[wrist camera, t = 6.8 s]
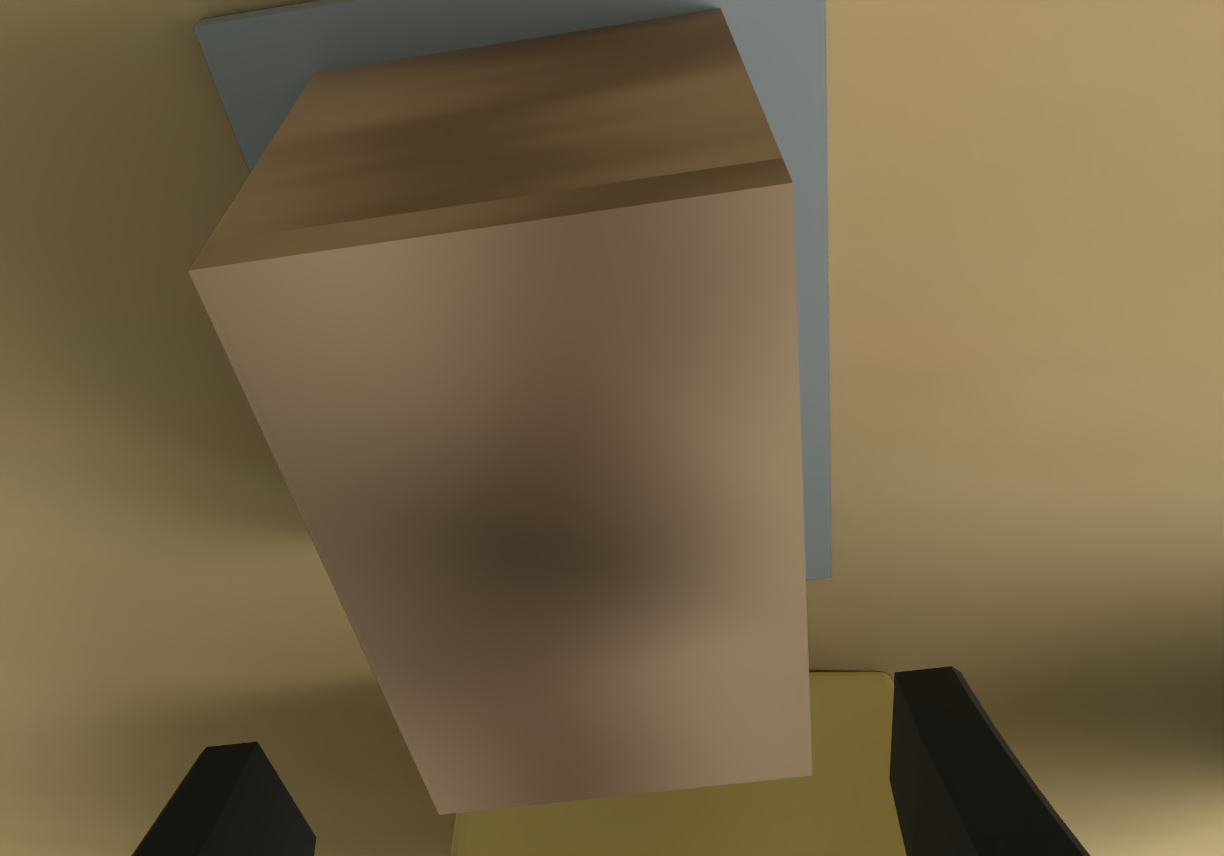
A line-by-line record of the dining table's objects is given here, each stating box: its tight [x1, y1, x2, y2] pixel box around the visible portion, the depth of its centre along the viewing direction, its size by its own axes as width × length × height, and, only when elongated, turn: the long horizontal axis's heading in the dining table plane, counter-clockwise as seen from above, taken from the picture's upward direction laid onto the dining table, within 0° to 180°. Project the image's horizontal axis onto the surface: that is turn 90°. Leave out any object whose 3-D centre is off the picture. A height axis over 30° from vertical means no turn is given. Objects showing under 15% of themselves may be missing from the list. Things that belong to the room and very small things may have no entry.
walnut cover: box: [188, 9, 812, 815], centre depth 15 cm, size 6×10×6 cm, turn 8°
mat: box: [193, 0, 831, 580], centre depth 18 cm, size 9×13×1 cm
